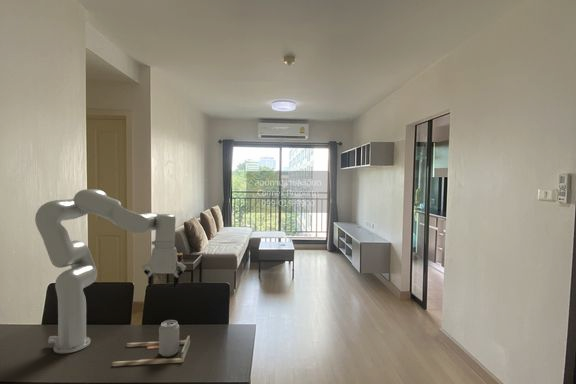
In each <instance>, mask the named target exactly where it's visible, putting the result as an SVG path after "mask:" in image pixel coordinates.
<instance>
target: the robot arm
mask: <svg viewBox="0 0 576 384" xmlns="http://www.w3.org/2000/svg"><path fill="white" fill-rule="evenodd" d="M88 214H92V215H95V216H98V217H101V218H103V219H106V220H108V221H109V222H111V223H112V224H113V225H115V226H116V227H118V228H121V229H123V230H126V231H128V232H131V233H134V234H138V235H139V234H145V233H148V232H151V231H155V238H154V239H155V240H154V241H153V240H152V241H151V245H152V246H154V247H153V248H152V250H151V254H150V261H149V262H146V263H145V264H142V265H141V269H142V270H143V272H144V274H146V276H147V279H148V280H147V281H148V282H147V284H148V285H149V288H151V287H152V286H154V281H155V279H154V278H155V277H154V276H155V275H154V274H173V275H174V277H173V288H176V287H177V286H178V285H179V284H180V283H179V280H180V276H181V275H182V274H183V273H184V271H185V270H186V268H187V266H186V265H185V264H183V263H181V262H179V261H178V259H179V258H178V252H177V251H178V250H177V247H176V246H175V245H176V244H175V243H176V220H177V218H176V216H175V215H174V214H172V213H171V214H170V213H162V214H161V213H160V214H159V213H156V212H155V213H154V212H145V213H140V214H139V213H136V212H134V211H132V210H129V209H127V208H125V207H123V206H122V202H121V201H120V200H118V199H115V198H112V197H111V196H109V195H108V194H107V192H105V191H103V190H102V189H96V188H92V189H91V188H89V189H81V190H79V191H78V192H76V193H75V194H74V197H73V198H71V199H56V200H55V199H54V200H50V201H48V202H45V203H44V204H42V205H41V206H39V208H38V209H37V211H36V213H35V218H34V220H35V222H34V223H35V225H36V229H37V230H38V232H39V234H40V236H41V238H42V241H43V244H44V247H45V249H46V252H47V254H48V258H49V261H50V262H51V264H52V265H53V266H54V267H55V268H58V269H59V268H60V269H62V268H63V269H64V268H66V267H69V266H70V268H69V269H66V270H64V271H63V272H62V273H60V274H59V275H58V276H57V277H56V280H55V284H54V285H55V286H54V287H55V293H56V296H57V315H58V317H57V321H58V322H57V326H58V327H57V329H58V330H57V335H51V336H48V341H47V342H48V344H54V345H53V352H54V353H55V354H60V355H61V354H70V353H71V354H72V353H75V352H78V351H81V350H84V349H85V348H87V347H88V346H90V344H91V338H90V337H89V336H87V300H86V299H87V298H86V295H85V292H84V288H85V289H86V287H88V286H90V285H92V284H93V283H94V282H95V281H96V279H97V278H98V269H97V267H96V266H97V265H96V264H95V260H94V258H93V256H92V253H91V250H90V248H89V246H88V245H87V244H86V243H85V242H83V241H82V240H71V237H70V235H69V233H68V230H67V229H66V227H65V226H64V225H63V224H62V223H61V222H62V221H69V220H75V219H78V218H81V217H83V216H86V215H88ZM148 267H149V269H148ZM178 267H179V268H180V270H178Z"/></svg>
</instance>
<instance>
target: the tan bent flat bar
mask: <svg viewBox="0 0 576 384" xmlns="http://www.w3.org/2000/svg"><path fill="white" fill-rule="evenodd" d="M190 337H191V336H190V335H187V337H186V339H184V340H179V345H183V347H182V350H181V352H180V353H181V356H180V357H178V358H176V357H175V358H166V357H165V358H163V357H162V358H160V357H159V358H143V359H139V360H138V359H137V360H122V361H120V360H119V361H113V362H111V366H112V367H120V366H121V367H122V366H124V367H125V366H137V365H138V366H141V365H158V364H176V363H177V364H178V363H184V361H185V359H186V356H187V352H188V350H189V347H190V344H191V338H190ZM133 347H146V350H148V349H149V350H151V349H152V350H153V349H154V350H156V349H159V341H145V342H144V341H143V342H127V343H126V348H133Z"/></svg>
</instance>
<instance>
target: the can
mask: <svg viewBox="0 0 576 384" xmlns="http://www.w3.org/2000/svg"><path fill="white" fill-rule="evenodd" d="M179 341H180V324H179V323H178V321H177V320H175V319H167V320H164V321H163V322H161V324H160V326H159V327H158V342H159V348H158V354H159V355H161V356H162V357H165V358H166V357H168V358H169V357H173V356H175V355H176V354H177V353H178V352H179V350H180V344H179Z"/></svg>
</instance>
